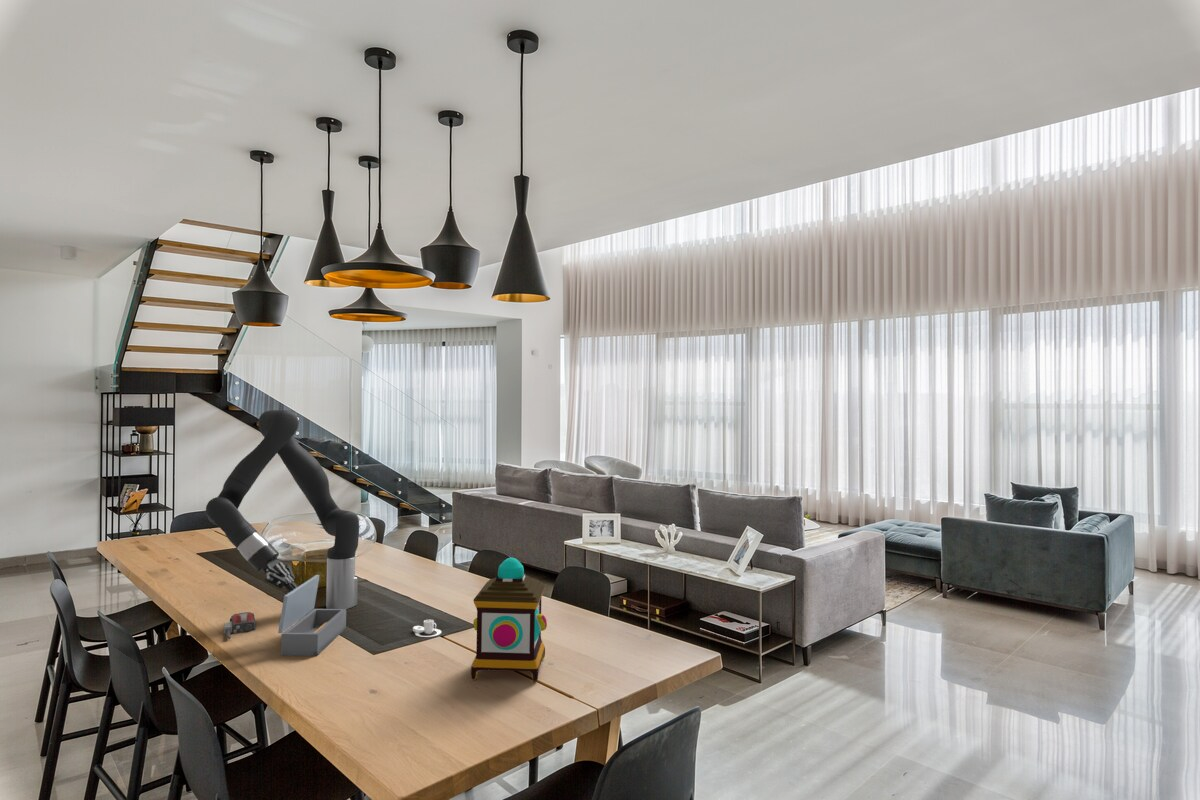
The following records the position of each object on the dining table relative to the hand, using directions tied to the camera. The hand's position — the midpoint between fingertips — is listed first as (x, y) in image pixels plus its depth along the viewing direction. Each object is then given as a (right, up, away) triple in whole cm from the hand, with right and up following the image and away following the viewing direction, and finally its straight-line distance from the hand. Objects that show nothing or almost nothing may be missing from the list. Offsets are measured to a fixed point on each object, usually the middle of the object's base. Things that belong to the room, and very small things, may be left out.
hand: (298, 593), depth 207 cm
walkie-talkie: (-22, -14, +9) cm, 28 cm away
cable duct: (+5, -14, 0) cm, 15 cm away
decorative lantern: (+65, -15, -19) cm, 69 cm away
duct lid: (+1, -3, 0) cm, 3 cm away
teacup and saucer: (+36, -15, +12) cm, 41 cm away
